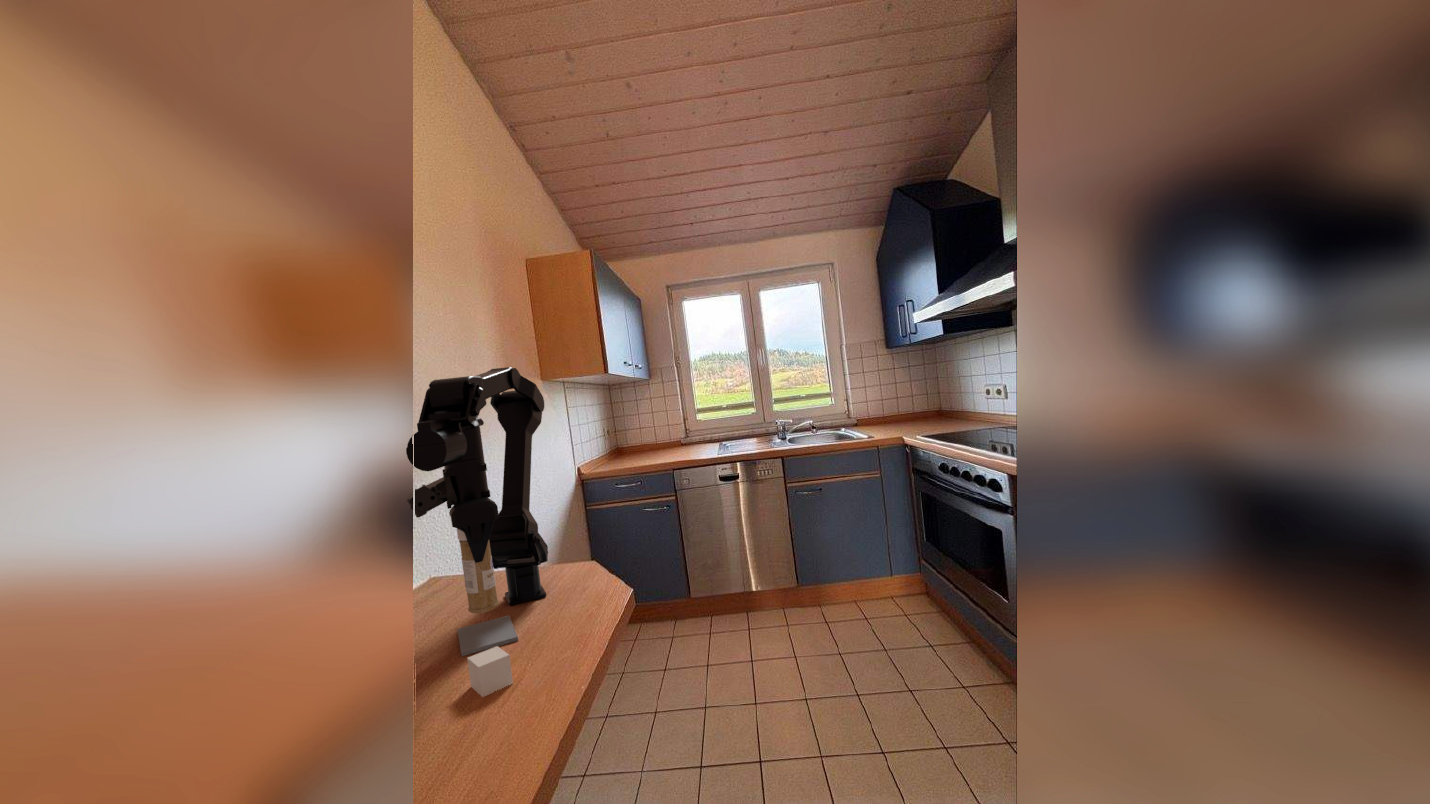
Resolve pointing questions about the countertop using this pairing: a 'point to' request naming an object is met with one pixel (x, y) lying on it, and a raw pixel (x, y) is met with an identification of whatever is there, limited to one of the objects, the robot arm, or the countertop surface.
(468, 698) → the countertop surface
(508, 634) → the grey mat
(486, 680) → the light grey block
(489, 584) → the sprinkles bottle
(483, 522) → the robot arm
